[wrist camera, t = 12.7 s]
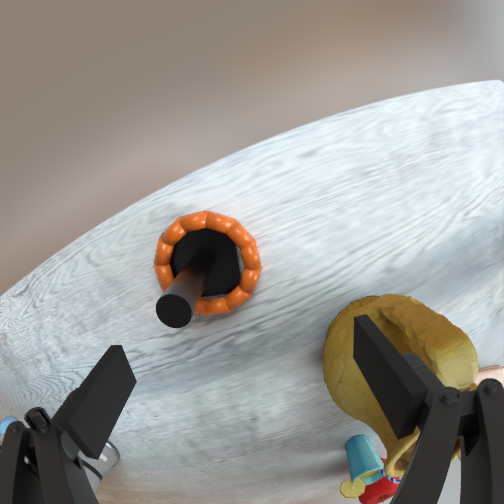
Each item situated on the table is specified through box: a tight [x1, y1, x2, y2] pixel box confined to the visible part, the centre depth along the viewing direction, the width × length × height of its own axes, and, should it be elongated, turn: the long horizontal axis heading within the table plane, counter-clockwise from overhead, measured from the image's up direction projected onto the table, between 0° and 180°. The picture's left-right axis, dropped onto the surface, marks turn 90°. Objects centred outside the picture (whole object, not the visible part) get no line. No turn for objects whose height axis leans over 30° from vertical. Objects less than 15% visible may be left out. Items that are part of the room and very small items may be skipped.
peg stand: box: [156, 228, 242, 328], centre depth 28 cm, size 9×9×15 cm
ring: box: [154, 211, 262, 316], centre depth 33 cm, size 13×13×2 cm
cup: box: [340, 435, 402, 498], centre depth 38 cm, size 14×8×15 cm, turn 118°
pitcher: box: [323, 294, 479, 477], centre depth 26 cm, size 17×19×25 cm
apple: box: [358, 458, 400, 504], centre depth 41 cm, size 10×10×14 cm
